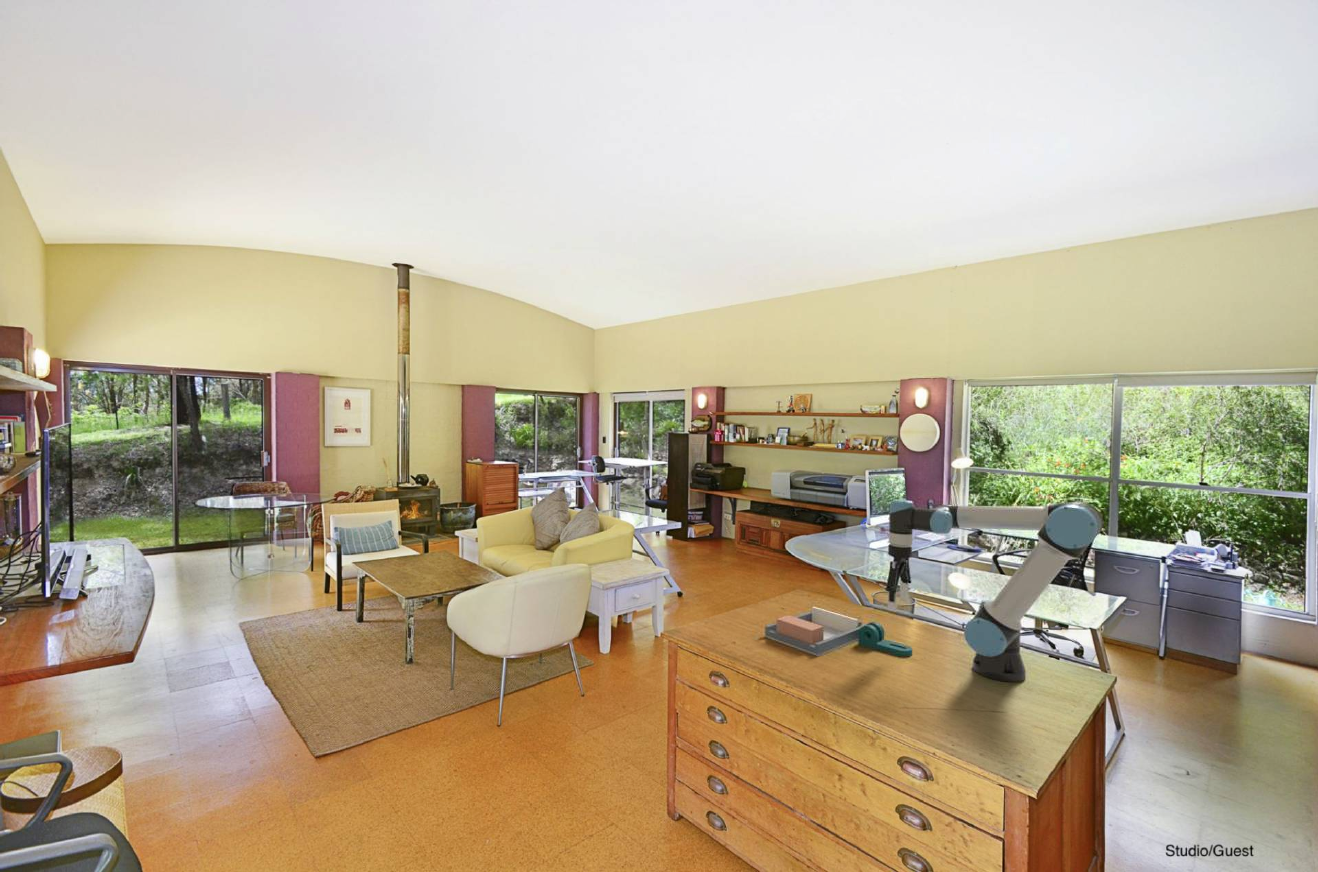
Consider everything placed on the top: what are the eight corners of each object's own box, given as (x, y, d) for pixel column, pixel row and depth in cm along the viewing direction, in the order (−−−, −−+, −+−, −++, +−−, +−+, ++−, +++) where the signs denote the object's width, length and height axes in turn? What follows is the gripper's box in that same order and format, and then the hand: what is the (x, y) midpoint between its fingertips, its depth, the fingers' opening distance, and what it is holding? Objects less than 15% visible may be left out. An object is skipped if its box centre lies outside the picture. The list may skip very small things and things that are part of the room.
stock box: (788, 632, 227) (788, 614, 227) (823, 645, 215) (823, 626, 215) (776, 637, 223) (776, 618, 223) (811, 649, 211) (812, 630, 210)
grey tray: (812, 620, 244) (812, 607, 244) (865, 637, 226) (865, 622, 225) (765, 636, 225) (765, 622, 225) (818, 656, 206) (818, 640, 206)
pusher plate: (813, 620, 241) (813, 606, 241) (858, 635, 226) (858, 619, 225) (811, 621, 241) (811, 606, 240) (856, 635, 225) (856, 620, 225)
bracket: (858, 645, 218) (858, 623, 218) (866, 640, 223) (866, 619, 223) (907, 658, 206) (908, 636, 205) (915, 653, 211) (915, 631, 210)
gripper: (899, 537, 215) (897, 595, 216) (877, 549, 195) (875, 612, 196) (921, 540, 211) (919, 599, 211) (900, 552, 191) (898, 617, 192)
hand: (898, 605), depth 204 cm, fingers open, 13 cm apart
